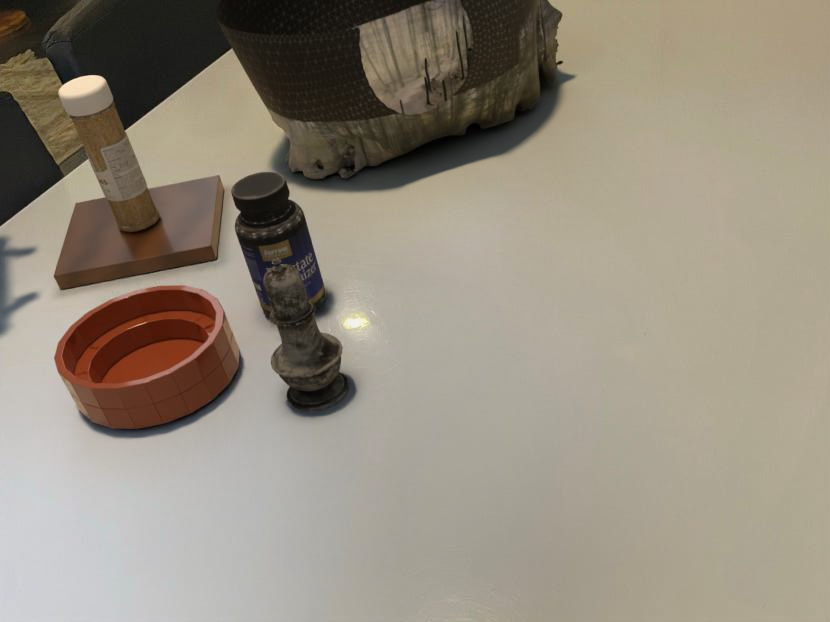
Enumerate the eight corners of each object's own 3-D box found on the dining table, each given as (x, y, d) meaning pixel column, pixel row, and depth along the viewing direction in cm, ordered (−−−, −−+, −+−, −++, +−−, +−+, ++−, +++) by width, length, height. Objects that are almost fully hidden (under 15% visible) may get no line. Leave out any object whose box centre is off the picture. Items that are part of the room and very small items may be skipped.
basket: (588, 155, 98) (579, -28, 86) (254, 210, 101) (198, 39, 88) (557, 47, 116) (547, -118, 103) (275, 96, 118) (231, -60, 106)
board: (60, 289, 96) (53, 276, 95) (81, 216, 105) (75, 202, 104) (216, 259, 95) (211, 245, 94) (224, 188, 105) (219, 174, 104)
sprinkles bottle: (112, 223, 100) (49, 86, 90) (152, 206, 101) (95, 68, 91) (127, 239, 97) (65, 99, 87) (168, 221, 99) (111, 81, 88)
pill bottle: (284, 330, 86) (244, 211, 77) (250, 305, 89) (208, 189, 81) (340, 299, 88) (307, 180, 79) (304, 276, 91) (269, 159, 83)
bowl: (67, 446, 80) (41, 402, 76) (91, 346, 89) (68, 302, 85) (237, 414, 79) (218, 369, 76) (243, 317, 88) (227, 272, 85)
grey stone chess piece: (274, 385, 81) (226, 253, 72) (339, 360, 82) (299, 226, 73) (295, 422, 77) (248, 288, 68) (362, 396, 78) (324, 260, 69)
